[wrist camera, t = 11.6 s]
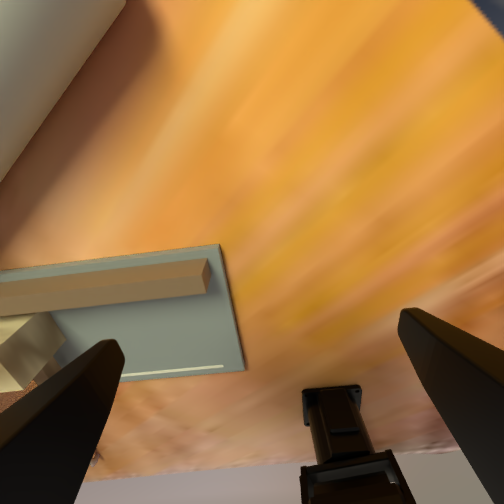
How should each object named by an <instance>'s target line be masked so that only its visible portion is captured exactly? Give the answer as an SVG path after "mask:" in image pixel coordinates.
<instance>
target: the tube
mask: <svg viewBox="0 0 504 504" xmlns="http://www.w3.org/2000/svg"><path fill="white" fill-rule="evenodd" d="M125 5H126V0H0V182H1V181H2V180H3V178H4V177H5V175H6V174H7V172H8V171H9V170H10V168H11V167H12V165H13V164H14V162H15V161H16V160H17V158H18V157H19V155H20V154H21V153H22V151H23V150H24V148H25V147H26V145H27V144H28V143H29V141H30V140H31V138H32V137H33V135H34V134H35V133H36V131H37V130H38V128H39V127H40V125H41V124H42V123H43V121H44V120H45V118H46V117H47V116H48V114H49V113H50V111H51V110H52V108H53V107H54V106H55V104H56V103H57V101H58V100H59V98H60V97H61V96H62V94H63V93H64V91H65V90H66V89H67V87H68V86H69V84H70V83H71V81H72V80H73V79H74V77H75V76H76V74H77V73H78V71H79V70H80V69H81V67H82V66H83V64H84V63H85V61H86V60H87V59H88V57H89V56H90V54H91V53H92V52H93V50H94V49H95V47H96V46H97V44H98V43H99V42H100V40H101V39H102V37H103V36H104V34H105V33H106V32H107V30H108V29H109V27H110V26H111V24H112V23H113V22H114V20H115V19H116V17H117V16H118V15H119V13H120V12H121V10H122V9H123V7H124V6H125Z"/></svg>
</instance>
